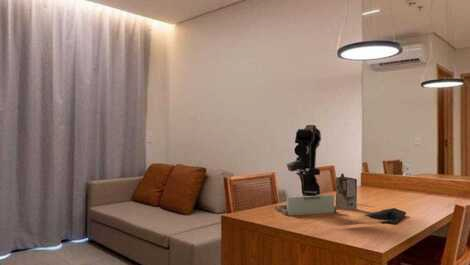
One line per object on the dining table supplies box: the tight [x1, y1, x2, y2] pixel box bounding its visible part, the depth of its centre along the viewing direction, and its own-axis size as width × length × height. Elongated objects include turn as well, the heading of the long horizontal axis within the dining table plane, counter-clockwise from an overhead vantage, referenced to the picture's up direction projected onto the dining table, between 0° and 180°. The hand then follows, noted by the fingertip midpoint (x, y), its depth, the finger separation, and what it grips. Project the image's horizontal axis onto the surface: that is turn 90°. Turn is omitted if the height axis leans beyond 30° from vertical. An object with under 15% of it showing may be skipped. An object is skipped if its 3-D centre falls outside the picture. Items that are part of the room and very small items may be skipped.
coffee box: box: [335, 176, 358, 211], centre depth 174 cm, size 9×6×16 cm
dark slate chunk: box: [364, 207, 407, 225], centre depth 158 cm, size 15×22×5 cm
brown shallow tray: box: [274, 204, 337, 216], centre depth 165 cm, size 12×26×3 cm, turn 107°
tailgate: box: [286, 194, 335, 216], centre depth 159 cm, size 2×24×8 cm, turn 107°
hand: (304, 188), depth 166 cm, fingers closed
